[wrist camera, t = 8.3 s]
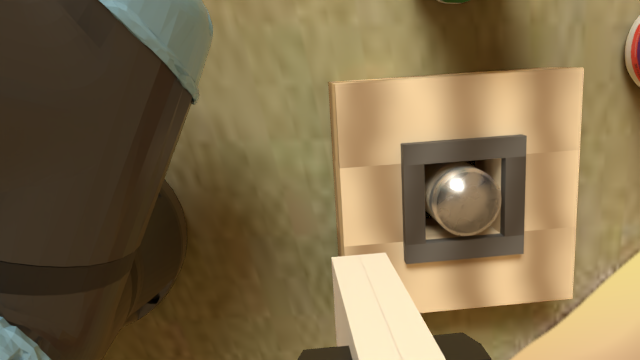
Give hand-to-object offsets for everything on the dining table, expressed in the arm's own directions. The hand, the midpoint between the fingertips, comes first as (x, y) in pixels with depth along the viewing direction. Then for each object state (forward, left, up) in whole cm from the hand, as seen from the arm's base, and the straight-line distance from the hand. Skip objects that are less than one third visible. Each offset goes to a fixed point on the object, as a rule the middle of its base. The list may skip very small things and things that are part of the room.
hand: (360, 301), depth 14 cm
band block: (+11, -4, -28) cm, 31 cm away
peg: (+11, -4, -28) cm, 30 cm away
